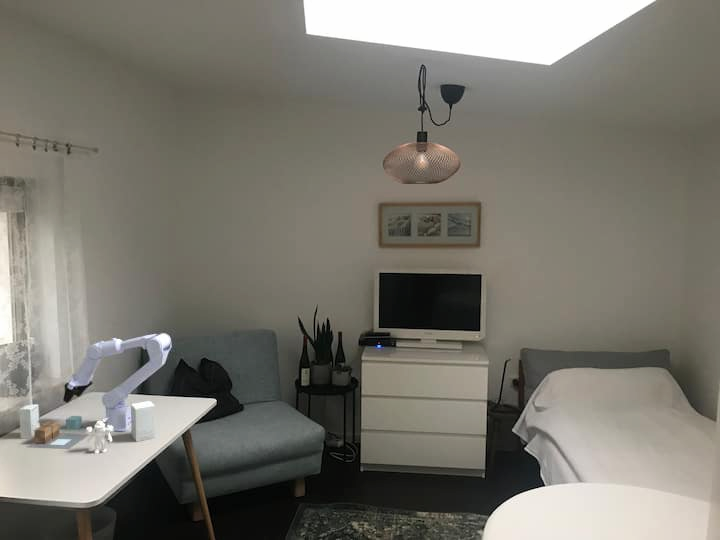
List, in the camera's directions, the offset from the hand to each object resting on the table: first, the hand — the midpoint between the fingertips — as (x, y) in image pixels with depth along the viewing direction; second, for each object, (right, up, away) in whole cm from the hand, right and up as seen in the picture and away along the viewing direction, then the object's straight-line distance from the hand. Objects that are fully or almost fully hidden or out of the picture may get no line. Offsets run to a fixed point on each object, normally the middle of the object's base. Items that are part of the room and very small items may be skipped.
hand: (71, 398), depth 227 cm
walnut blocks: (-1, -12, -15) cm, 19 cm away
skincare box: (-10, -13, -11) cm, 20 cm away
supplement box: (+32, -13, -9) cm, 36 cm away
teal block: (+3, -12, -3) cm, 12 cm away
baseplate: (+4, -13, -16) cm, 21 cm away
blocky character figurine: (+22, -14, -24) cm, 35 cm away
